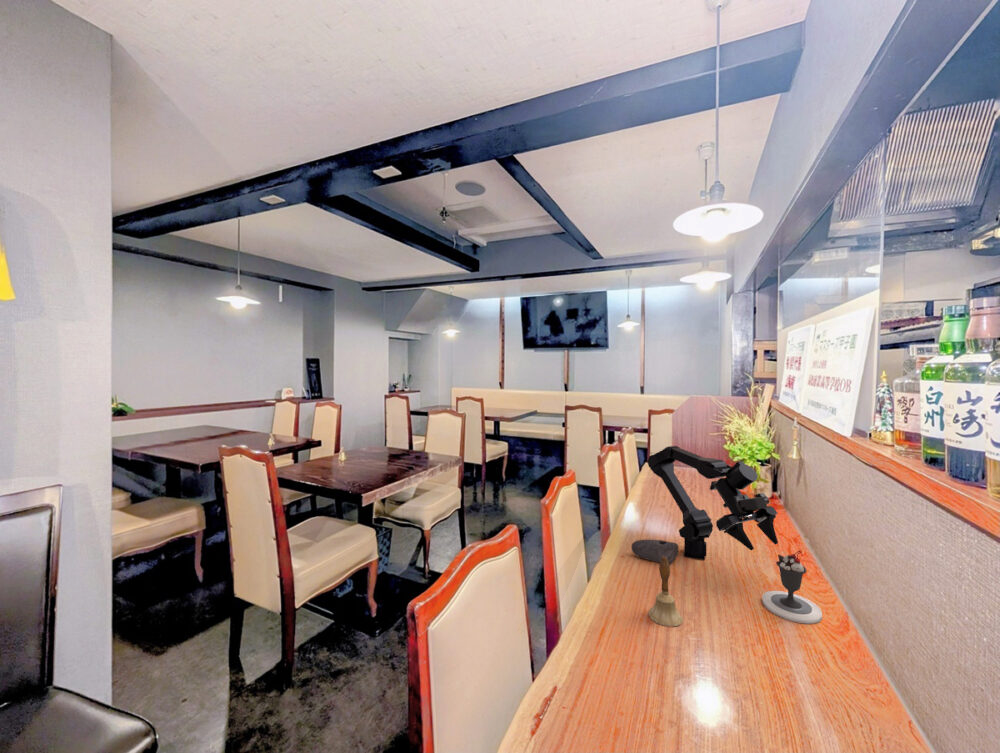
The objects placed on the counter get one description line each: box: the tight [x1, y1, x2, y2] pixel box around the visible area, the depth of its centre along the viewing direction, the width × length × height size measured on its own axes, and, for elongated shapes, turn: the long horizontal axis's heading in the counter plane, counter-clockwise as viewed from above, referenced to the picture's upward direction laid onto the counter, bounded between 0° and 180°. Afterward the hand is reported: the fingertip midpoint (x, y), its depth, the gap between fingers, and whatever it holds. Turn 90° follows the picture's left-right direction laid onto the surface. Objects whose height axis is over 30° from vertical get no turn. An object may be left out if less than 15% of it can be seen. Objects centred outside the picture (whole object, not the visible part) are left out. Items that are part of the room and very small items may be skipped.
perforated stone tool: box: [631, 539, 680, 564], centre depth 136 cm, size 15×5×7 cm, turn 62°
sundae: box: [775, 550, 808, 609], centre depth 108 cm, size 7×7×15 cm
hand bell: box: [648, 556, 684, 627], centre depth 105 cm, size 8×8×16 cm
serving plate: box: [761, 590, 823, 625], centre depth 108 cm, size 13×13×1 cm
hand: (764, 546), depth 116 cm, fingers open, 9 cm apart
